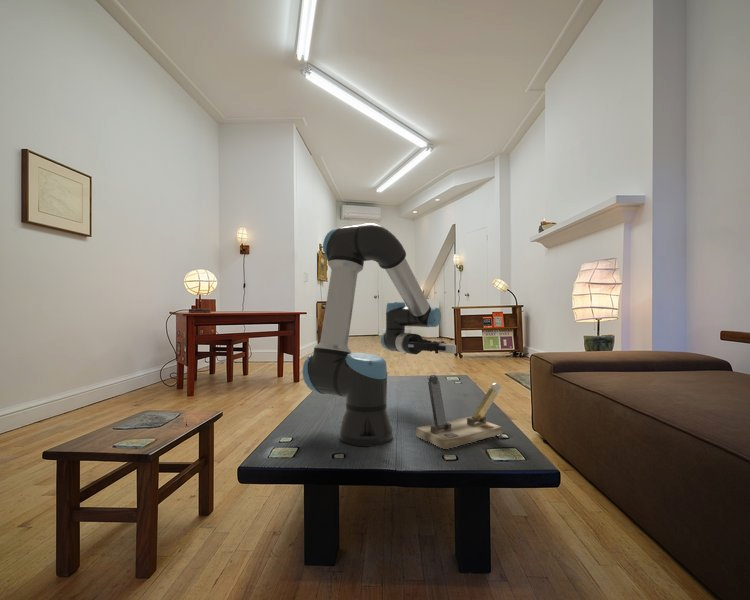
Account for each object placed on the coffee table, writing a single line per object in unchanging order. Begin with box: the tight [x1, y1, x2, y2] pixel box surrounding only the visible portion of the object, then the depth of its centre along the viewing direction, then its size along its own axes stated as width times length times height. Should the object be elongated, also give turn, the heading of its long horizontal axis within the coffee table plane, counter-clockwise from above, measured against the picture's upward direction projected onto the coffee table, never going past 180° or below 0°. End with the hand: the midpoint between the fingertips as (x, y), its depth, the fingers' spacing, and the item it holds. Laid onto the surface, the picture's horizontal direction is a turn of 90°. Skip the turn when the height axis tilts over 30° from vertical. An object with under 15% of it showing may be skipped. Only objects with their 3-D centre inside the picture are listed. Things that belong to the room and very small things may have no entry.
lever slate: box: [427, 374, 447, 430], centre depth 105 cm, size 3×3×15 cm
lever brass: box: [471, 382, 502, 422], centre depth 108 cm, size 3×3×15 cm
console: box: [415, 415, 503, 449], centre depth 107 cm, size 12×22×4 cm, turn 122°
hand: (454, 349), depth 119 cm, fingers closed
